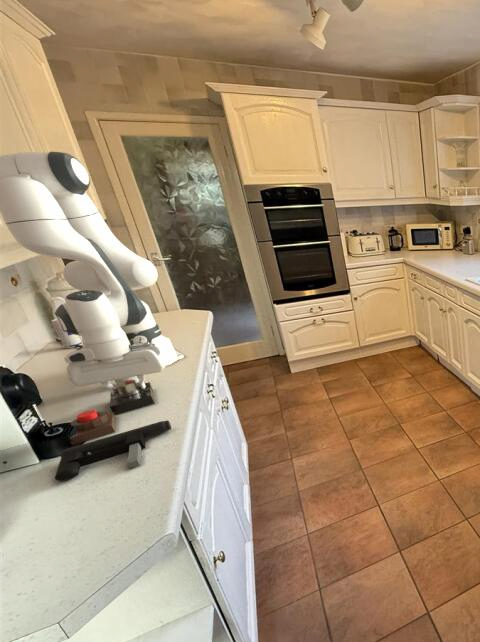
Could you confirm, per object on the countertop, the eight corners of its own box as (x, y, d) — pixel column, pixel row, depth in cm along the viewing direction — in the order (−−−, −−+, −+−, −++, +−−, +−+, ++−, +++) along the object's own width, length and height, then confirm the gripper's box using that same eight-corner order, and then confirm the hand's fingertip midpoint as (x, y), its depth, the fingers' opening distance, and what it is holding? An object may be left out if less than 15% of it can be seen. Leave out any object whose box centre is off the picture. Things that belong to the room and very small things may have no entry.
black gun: (168, 446, 93) (167, 415, 104) (45, 486, 81) (59, 446, 93) (173, 457, 94) (172, 425, 105) (54, 497, 83) (66, 457, 94)
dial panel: (115, 400, 120) (110, 391, 119) (153, 390, 125) (149, 381, 124) (114, 415, 112) (109, 406, 110) (154, 404, 117) (150, 394, 116)
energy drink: (86, 343, 168) (73, 317, 163) (72, 348, 163) (58, 321, 158) (75, 343, 168) (61, 317, 164) (61, 348, 163) (46, 321, 159)
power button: (80, 419, 103) (77, 413, 103) (99, 414, 106) (96, 408, 105) (78, 424, 101) (75, 419, 100) (98, 419, 103) (95, 413, 102)
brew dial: (117, 398, 115) (111, 386, 113) (125, 391, 118) (119, 380, 117) (136, 395, 116) (130, 384, 114) (143, 388, 120) (138, 377, 118)
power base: (76, 429, 106) (68, 416, 104) (116, 417, 110) (109, 405, 109) (72, 445, 99) (64, 432, 97) (115, 432, 104) (108, 419, 102)
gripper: (158, 337, 118) (175, 378, 124) (66, 351, 110) (89, 394, 115) (152, 344, 113) (170, 386, 119) (55, 359, 105) (79, 404, 110)
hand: (129, 390), depth 117 cm, fingers closed on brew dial, 4 cm apart
